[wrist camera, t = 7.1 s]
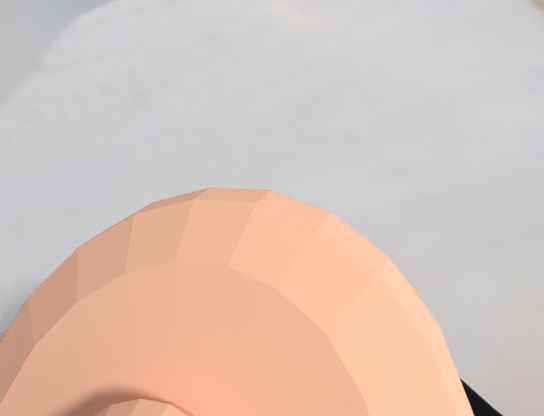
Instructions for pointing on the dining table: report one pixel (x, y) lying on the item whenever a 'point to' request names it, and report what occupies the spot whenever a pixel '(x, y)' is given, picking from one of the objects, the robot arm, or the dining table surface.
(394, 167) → the dining table surface
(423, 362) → the pepper shaker
